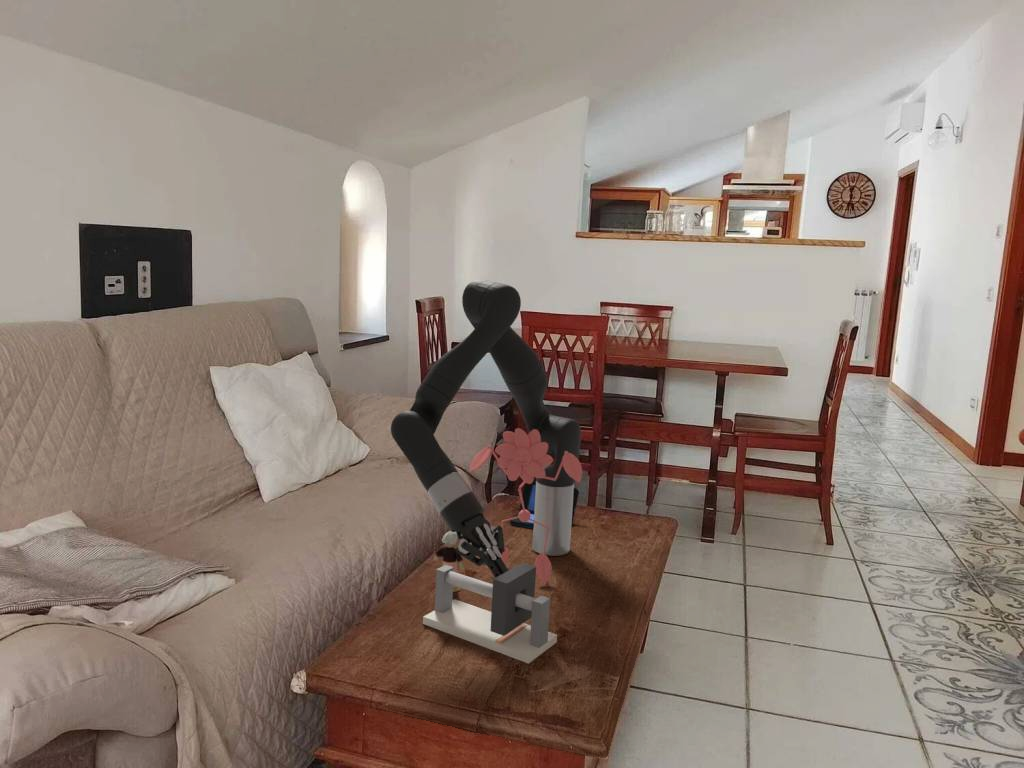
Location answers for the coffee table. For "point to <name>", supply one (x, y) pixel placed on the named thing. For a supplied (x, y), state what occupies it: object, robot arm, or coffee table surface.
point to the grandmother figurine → (450, 554)
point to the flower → (527, 476)
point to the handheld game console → (530, 505)
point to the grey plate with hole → (511, 598)
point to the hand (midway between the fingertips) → (505, 578)
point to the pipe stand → (489, 618)
